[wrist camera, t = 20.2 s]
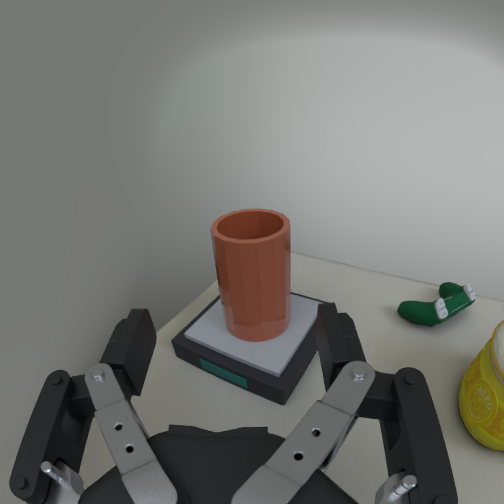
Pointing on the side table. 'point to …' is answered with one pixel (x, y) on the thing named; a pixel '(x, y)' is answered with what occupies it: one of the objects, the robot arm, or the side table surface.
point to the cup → (253, 272)
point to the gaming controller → (439, 305)
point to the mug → (485, 393)
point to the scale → (253, 350)
